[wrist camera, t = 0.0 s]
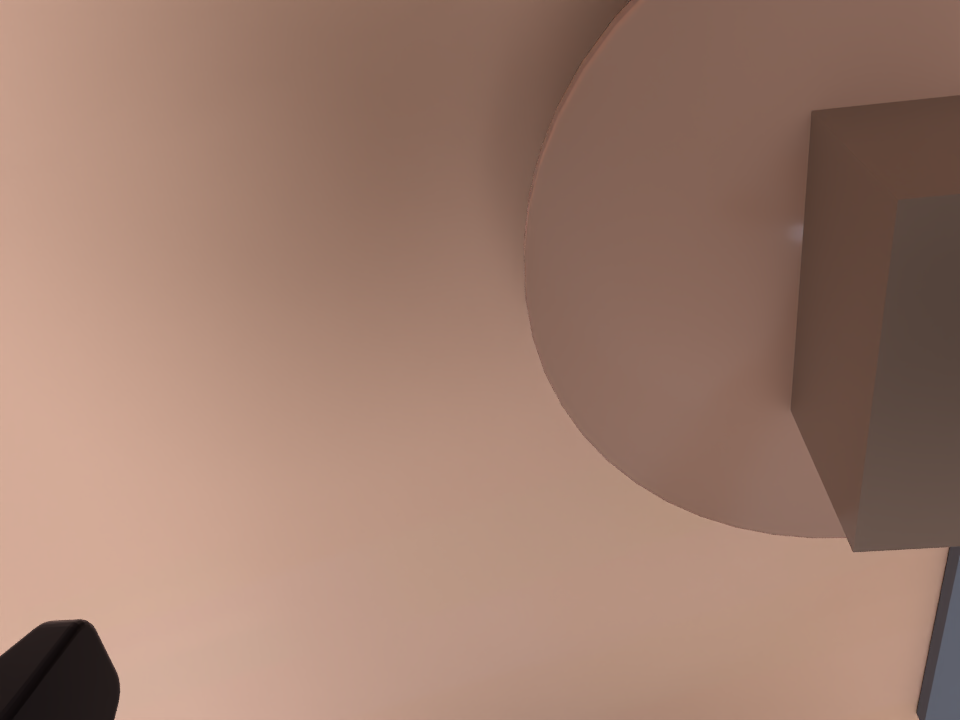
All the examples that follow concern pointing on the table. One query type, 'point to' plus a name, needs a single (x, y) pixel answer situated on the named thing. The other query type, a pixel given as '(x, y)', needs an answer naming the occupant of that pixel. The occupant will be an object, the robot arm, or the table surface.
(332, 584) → the table surface
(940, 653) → the mat
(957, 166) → the lid
